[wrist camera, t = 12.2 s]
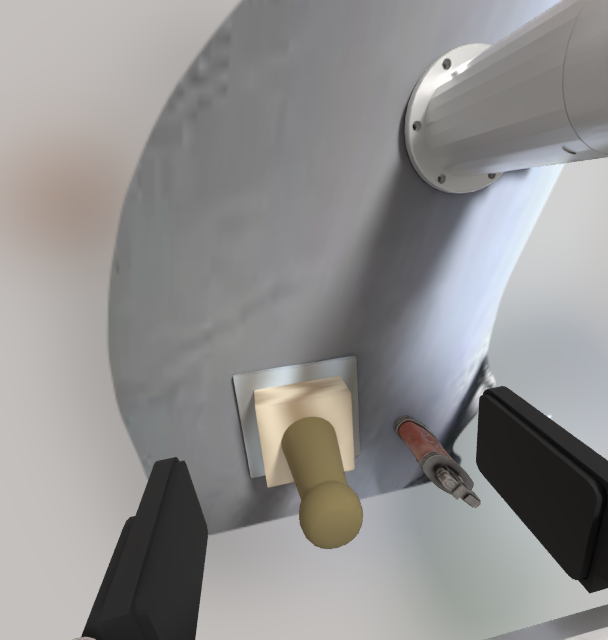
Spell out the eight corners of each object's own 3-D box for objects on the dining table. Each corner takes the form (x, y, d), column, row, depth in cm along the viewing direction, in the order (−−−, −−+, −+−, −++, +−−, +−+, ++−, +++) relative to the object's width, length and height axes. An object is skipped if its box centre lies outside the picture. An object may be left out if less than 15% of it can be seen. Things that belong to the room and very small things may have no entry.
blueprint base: (354, 355, 39) (368, 373, 35) (358, 452, 44) (371, 479, 39) (233, 374, 37) (232, 396, 33) (250, 474, 42) (251, 505, 37)
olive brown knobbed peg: (331, 464, 38) (365, 560, 27) (277, 463, 36) (292, 564, 26) (341, 417, 36) (381, 501, 26) (285, 415, 35) (304, 503, 24)
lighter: (388, 428, 43) (428, 489, 34) (406, 410, 43) (452, 466, 34) (425, 457, 46) (472, 521, 37) (443, 440, 46) (495, 500, 36)
